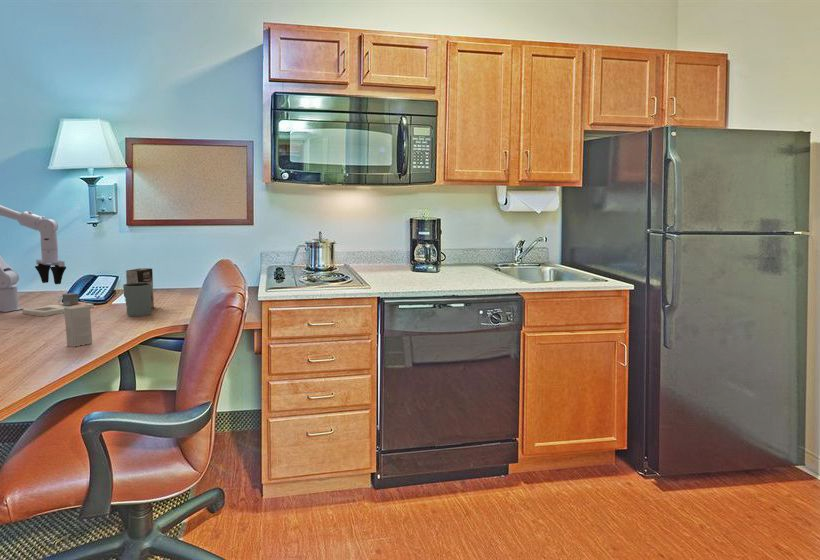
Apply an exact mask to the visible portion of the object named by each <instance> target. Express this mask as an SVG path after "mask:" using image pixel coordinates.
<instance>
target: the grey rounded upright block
mask: <svg viewBox="0 0 820 560" xmlns="http://www.w3.org/2000/svg"><path fill="white" fill-rule="evenodd" d="M122 287H123V288H122V289H123V293H124V297H125V298H124V301H125V306H126V315H127V316H128V317H133V318H135V317H139V318H140V317H147V316H150V315H152V308H151V290H152V284H151V283H147V282H137V283H128V284H127V283H125V284H123V285H122Z"/></svg>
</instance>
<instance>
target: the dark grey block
mask: <svg viewBox="0 0 820 560" xmlns="http://www.w3.org/2000/svg"><path fill="white" fill-rule="evenodd" d="M61 295H62V303H63V306H73V305H79V302H80V301H79V293H74V292H69V293H62V294H61Z"/></svg>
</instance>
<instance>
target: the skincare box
mask: <svg viewBox="0 0 820 560" xmlns="http://www.w3.org/2000/svg"><path fill="white" fill-rule="evenodd" d="M64 311H65V313H64V320H65V321H64V322H65V336H66V345H67V346H68V345H70V346H69V347H71V346H74V347H73V348H76V347H75V346H77V347H81V346H80V345H82V346H86V345H85V344H87V345H91V344H90V343H92V344H93V335H92V321H91V308H90V306H85V305H79V306H72V307H66V308H64Z"/></svg>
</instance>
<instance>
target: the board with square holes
mask: <svg viewBox="0 0 820 560" xmlns="http://www.w3.org/2000/svg"><path fill="white" fill-rule="evenodd" d="M79 305H85V306H90V309H93V308H94V303H89V302H85V301H79ZM79 305H73V306H79ZM66 307H72V306H63V302H59V303H55V304H51V305H44V306H38V307H32V308H24V309H21V310H22V311H21V312H22V314H23V315H31V316H37V317H47V316H54V315H58V314H59V315H60V314H65V311H64V308H66Z"/></svg>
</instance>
